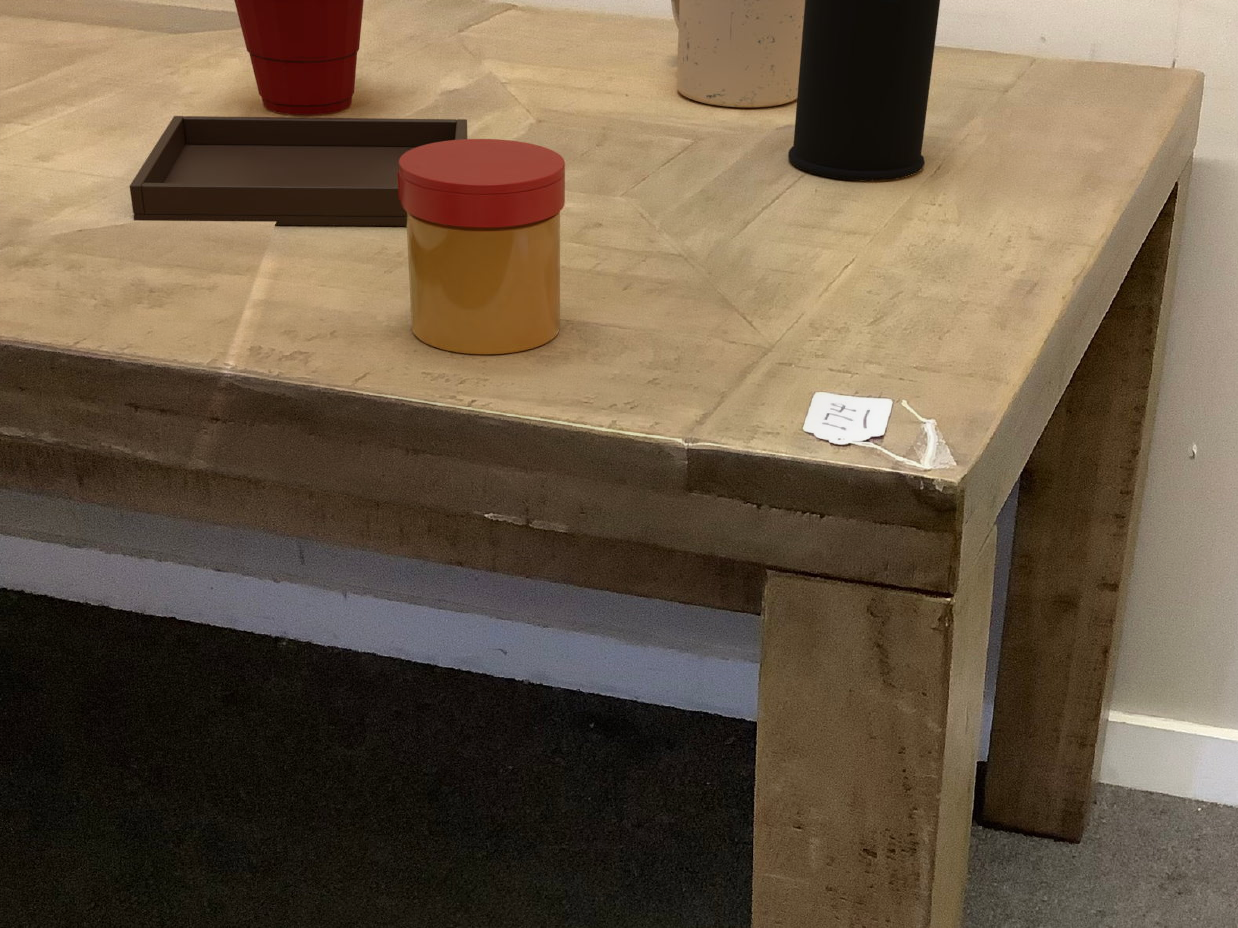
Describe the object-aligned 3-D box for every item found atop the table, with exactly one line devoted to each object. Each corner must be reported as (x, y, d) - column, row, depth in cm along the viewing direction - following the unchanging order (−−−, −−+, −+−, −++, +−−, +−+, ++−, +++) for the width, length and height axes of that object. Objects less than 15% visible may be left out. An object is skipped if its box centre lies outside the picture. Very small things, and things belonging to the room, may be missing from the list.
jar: (408, 354, 74) (399, 194, 70) (415, 301, 80) (407, 150, 76) (561, 355, 75) (562, 195, 71) (558, 302, 80) (558, 151, 76)
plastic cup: (222, 129, 104) (200, -85, 97) (222, 87, 113) (201, -113, 106) (398, 125, 106) (388, -86, 99) (385, 84, 115) (374, -113, 108)
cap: (394, 227, 71) (392, 183, 70) (403, 178, 77) (401, 137, 76) (567, 228, 71) (567, 185, 70) (562, 179, 77) (562, 139, 76)
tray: (134, 224, 88) (129, 185, 87) (178, 150, 100) (173, 115, 99) (462, 226, 89) (461, 188, 88) (468, 153, 101) (467, 119, 100)
